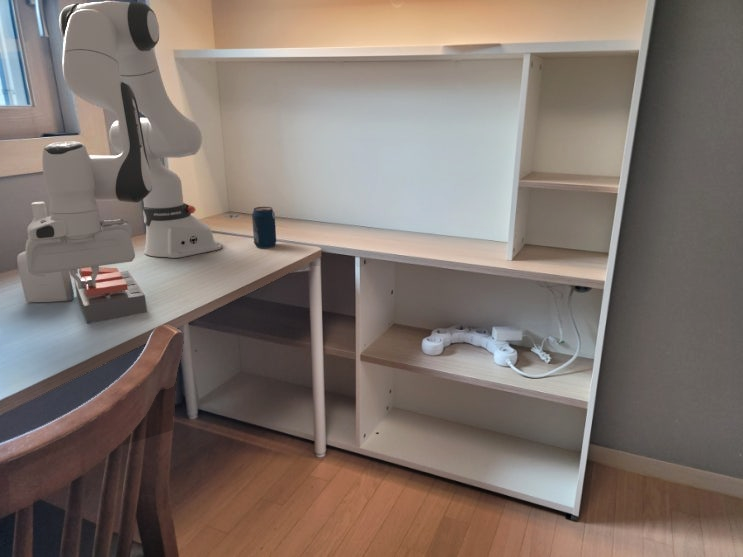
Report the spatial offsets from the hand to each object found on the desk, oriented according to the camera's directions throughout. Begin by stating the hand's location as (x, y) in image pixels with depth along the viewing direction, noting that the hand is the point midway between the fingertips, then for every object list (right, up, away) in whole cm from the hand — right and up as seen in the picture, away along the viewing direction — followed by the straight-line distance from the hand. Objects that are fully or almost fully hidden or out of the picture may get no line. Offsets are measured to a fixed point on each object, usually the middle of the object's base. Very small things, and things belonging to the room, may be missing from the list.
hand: (87, 287), depth 116 cm
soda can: (+27, +12, +56) cm, 63 cm away
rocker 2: (0, 0, +7) cm, 7 cm away
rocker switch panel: (+1, -4, +9) cm, 10 cm away
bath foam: (-22, +2, +25) cm, 33 cm away
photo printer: (-14, -3, +11) cm, 18 cm away
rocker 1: (-4, +2, +12) cm, 13 cm away
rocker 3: (+3, -1, +3) cm, 4 cm away
